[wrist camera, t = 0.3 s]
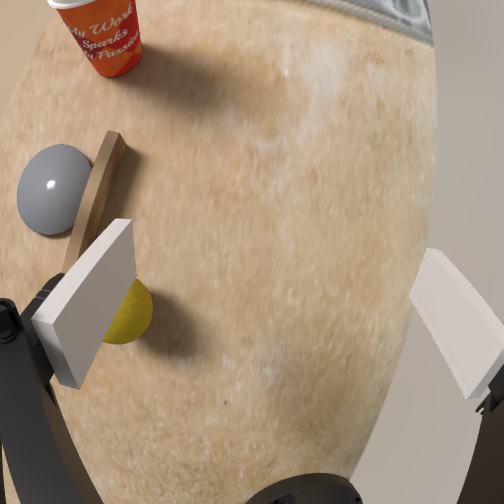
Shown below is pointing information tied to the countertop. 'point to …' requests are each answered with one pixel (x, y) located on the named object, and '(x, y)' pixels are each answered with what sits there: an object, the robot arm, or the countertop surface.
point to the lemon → (131, 316)
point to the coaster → (53, 189)
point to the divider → (95, 197)
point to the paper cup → (104, 32)
